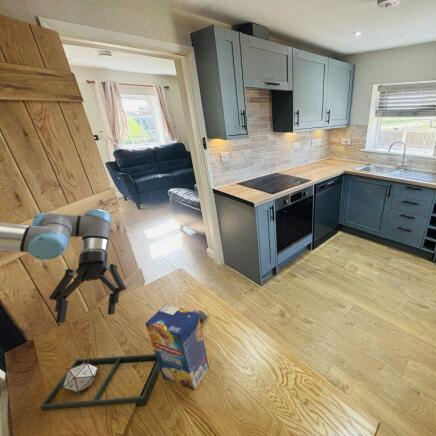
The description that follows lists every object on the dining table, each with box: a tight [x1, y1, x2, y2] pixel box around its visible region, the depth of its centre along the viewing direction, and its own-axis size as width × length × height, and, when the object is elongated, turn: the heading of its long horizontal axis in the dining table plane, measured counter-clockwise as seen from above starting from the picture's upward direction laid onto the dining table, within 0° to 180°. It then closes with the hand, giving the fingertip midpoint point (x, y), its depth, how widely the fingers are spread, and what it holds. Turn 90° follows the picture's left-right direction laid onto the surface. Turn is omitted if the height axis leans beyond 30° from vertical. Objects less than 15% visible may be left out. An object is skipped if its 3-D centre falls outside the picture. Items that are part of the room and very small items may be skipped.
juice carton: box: [145, 304, 210, 391], centre depth 72 cm, size 12×8×24 cm, turn 72°
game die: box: [59, 360, 101, 396], centre depth 71 cm, size 9×8×10 cm
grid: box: [39, 353, 161, 412], centre depth 73 cm, size 27×14×4 cm, turn 95°
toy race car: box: [179, 307, 207, 325], centre depth 93 cm, size 10×15×6 cm, turn 69°
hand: (86, 318), depth 75 cm, fingers open, 13 cm apart
